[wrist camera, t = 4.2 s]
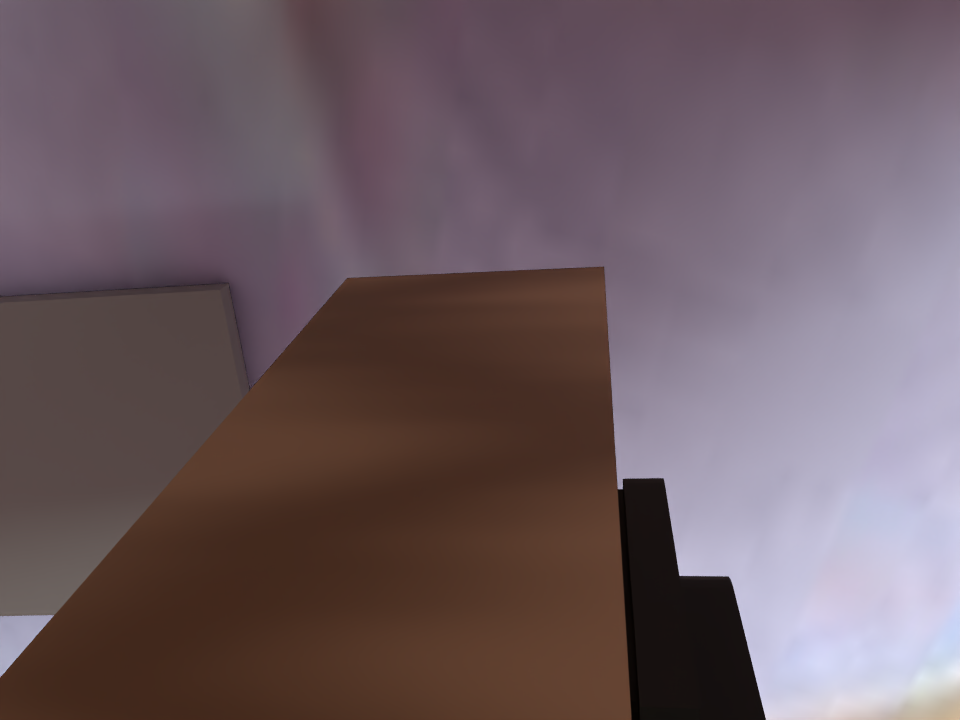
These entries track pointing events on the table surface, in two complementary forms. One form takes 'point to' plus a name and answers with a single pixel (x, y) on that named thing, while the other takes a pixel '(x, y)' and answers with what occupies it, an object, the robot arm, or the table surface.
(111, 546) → the mat
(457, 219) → the table surface
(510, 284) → the block
